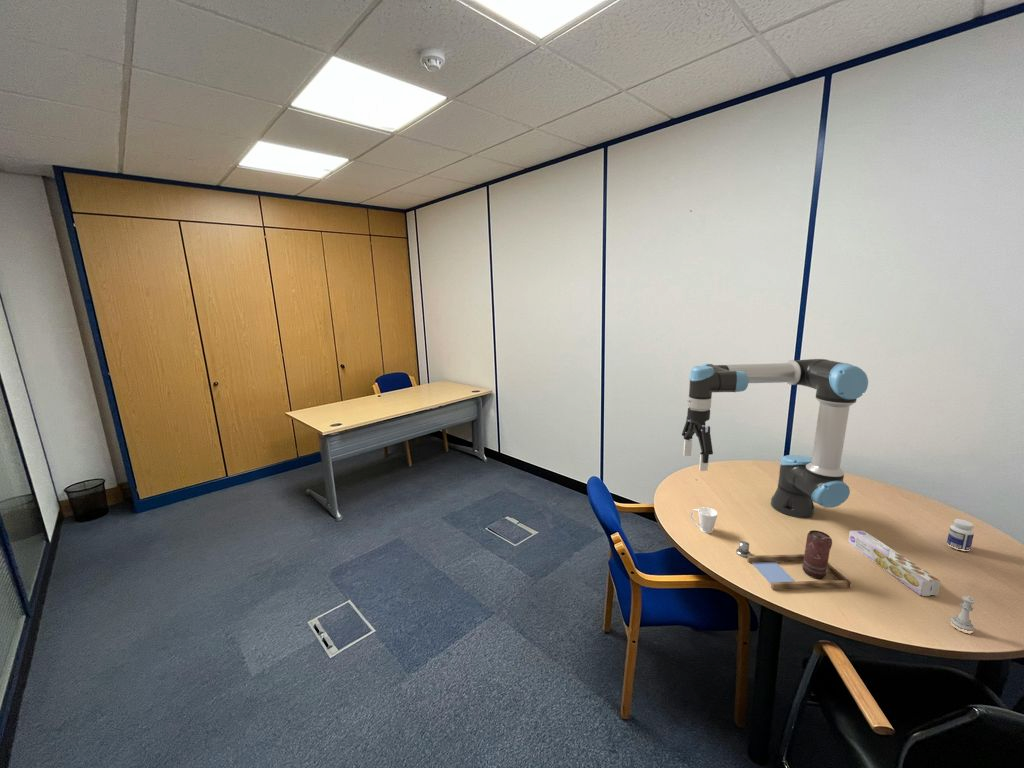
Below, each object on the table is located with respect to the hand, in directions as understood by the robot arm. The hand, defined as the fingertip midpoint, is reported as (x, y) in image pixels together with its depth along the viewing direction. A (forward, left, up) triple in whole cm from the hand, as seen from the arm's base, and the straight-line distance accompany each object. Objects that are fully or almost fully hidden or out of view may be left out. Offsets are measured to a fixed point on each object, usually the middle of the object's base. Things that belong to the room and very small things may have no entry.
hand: (694, 462), depth 152 cm
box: (-55, +25, -28) cm, 67 cm away
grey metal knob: (-12, +16, -28) cm, 34 cm away
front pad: (-16, +27, -28) cm, 42 cm away
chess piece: (-52, +50, -28) cm, 77 cm away
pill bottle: (-88, +16, -28) cm, 94 cm away
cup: (-5, 0, -28) cm, 29 cm away
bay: (-23, +27, -28) cm, 45 cm away
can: (-29, +27, -28) cm, 49 cm away
